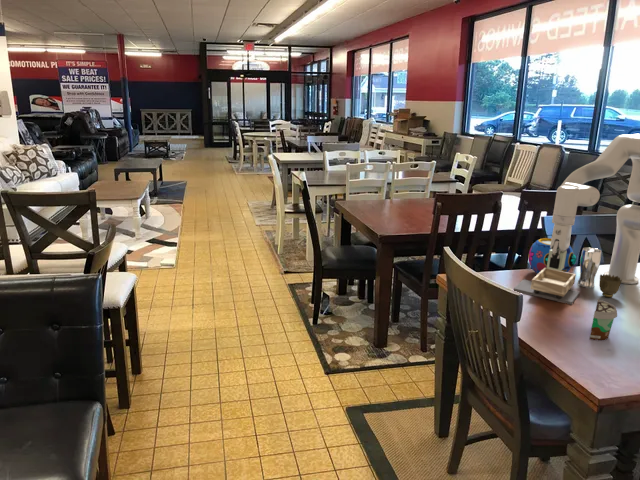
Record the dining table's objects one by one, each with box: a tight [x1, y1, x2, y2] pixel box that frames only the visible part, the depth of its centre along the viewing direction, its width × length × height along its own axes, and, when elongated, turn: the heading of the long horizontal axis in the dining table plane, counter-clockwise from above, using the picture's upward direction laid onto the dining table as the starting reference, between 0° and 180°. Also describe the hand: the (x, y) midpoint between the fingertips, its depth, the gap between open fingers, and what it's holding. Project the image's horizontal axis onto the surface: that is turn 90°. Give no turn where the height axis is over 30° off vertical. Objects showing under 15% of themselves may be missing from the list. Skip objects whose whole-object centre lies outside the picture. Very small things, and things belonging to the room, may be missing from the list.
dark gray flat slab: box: [513, 279, 580, 306], centre depth 197 cm, size 13×21×1 cm, turn 53°
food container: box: [589, 299, 618, 342], centre depth 161 cm, size 12×6×10 cm, turn 148°
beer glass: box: [577, 247, 602, 289], centre depth 203 cm, size 7×7×15 cm
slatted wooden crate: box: [531, 268, 577, 299], centre depth 195 cm, size 18×12×6 cm, turn 143°
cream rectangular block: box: [547, 249, 567, 271], centre depth 192 cm, size 5×5×7 cm
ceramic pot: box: [527, 237, 577, 275], centre depth 213 cm, size 18×18×15 cm
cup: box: [598, 274, 622, 299], centre depth 193 cm, size 8×7×8 cm
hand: (555, 265), depth 192 cm, fingers closed on cream rectangular block, 5 cm apart
